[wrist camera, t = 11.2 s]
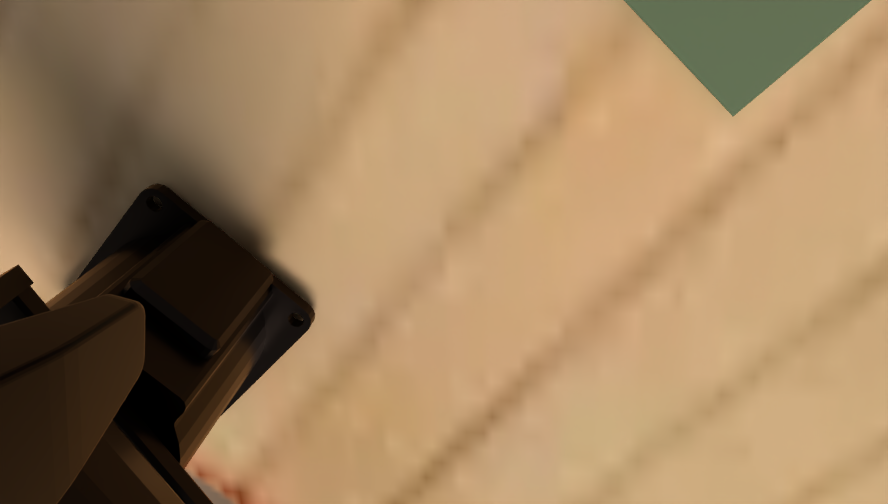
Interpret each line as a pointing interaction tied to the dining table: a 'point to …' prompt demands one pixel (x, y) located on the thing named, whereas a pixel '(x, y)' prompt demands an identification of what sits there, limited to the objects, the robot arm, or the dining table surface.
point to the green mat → (742, 38)
